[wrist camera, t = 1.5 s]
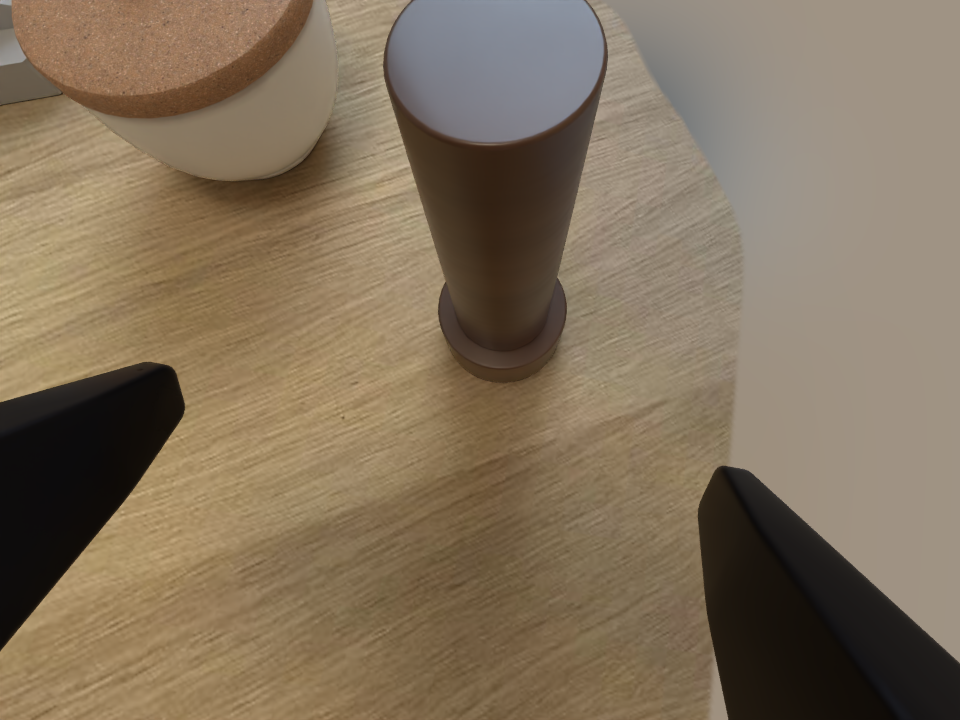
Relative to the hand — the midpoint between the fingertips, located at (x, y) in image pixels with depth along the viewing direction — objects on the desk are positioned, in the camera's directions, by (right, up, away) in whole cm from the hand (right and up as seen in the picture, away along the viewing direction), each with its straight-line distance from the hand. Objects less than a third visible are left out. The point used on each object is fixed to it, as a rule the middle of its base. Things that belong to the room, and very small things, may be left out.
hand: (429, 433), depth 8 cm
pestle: (+2, +3, +13) cm, 14 cm away
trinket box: (-10, +13, +17) cm, 23 cm away
